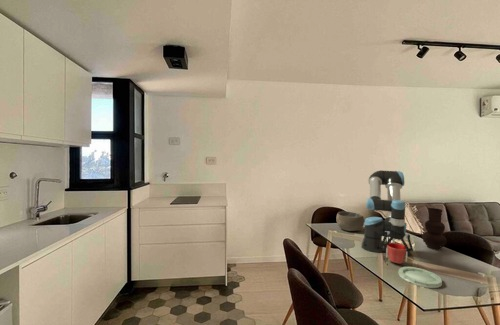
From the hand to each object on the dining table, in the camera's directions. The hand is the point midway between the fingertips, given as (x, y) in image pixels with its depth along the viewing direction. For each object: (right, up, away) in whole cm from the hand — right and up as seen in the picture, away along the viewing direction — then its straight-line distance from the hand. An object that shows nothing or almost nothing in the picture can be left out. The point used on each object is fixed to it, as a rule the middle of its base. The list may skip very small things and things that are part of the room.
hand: (396, 258), depth 155 cm
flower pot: (0, -2, 0) cm, 2 cm away
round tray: (+1, -4, -19) cm, 19 cm away
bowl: (-1, -2, +72) cm, 72 cm away
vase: (+46, -4, +29) cm, 55 cm away
